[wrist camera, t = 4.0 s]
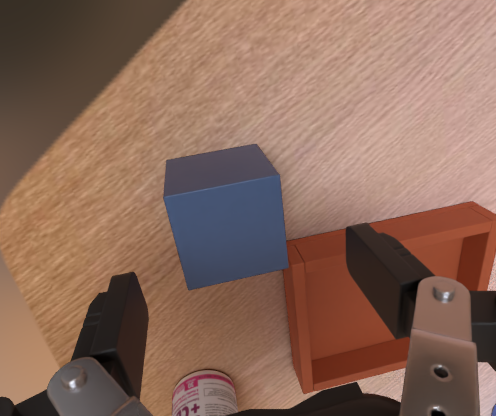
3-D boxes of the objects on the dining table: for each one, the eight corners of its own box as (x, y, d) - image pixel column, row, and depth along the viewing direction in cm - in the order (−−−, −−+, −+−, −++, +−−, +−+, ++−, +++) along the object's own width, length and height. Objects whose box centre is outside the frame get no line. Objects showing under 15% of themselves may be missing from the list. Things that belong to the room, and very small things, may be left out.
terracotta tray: (292, 365, 28) (303, 395, 26) (279, 242, 23) (291, 265, 20) (450, 325, 29) (474, 350, 27) (472, 200, 24) (504, 218, 22)
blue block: (185, 238, 21) (188, 291, 17) (166, 159, 19) (162, 197, 15) (266, 221, 22) (289, 268, 17) (256, 143, 19) (280, 174, 15)
